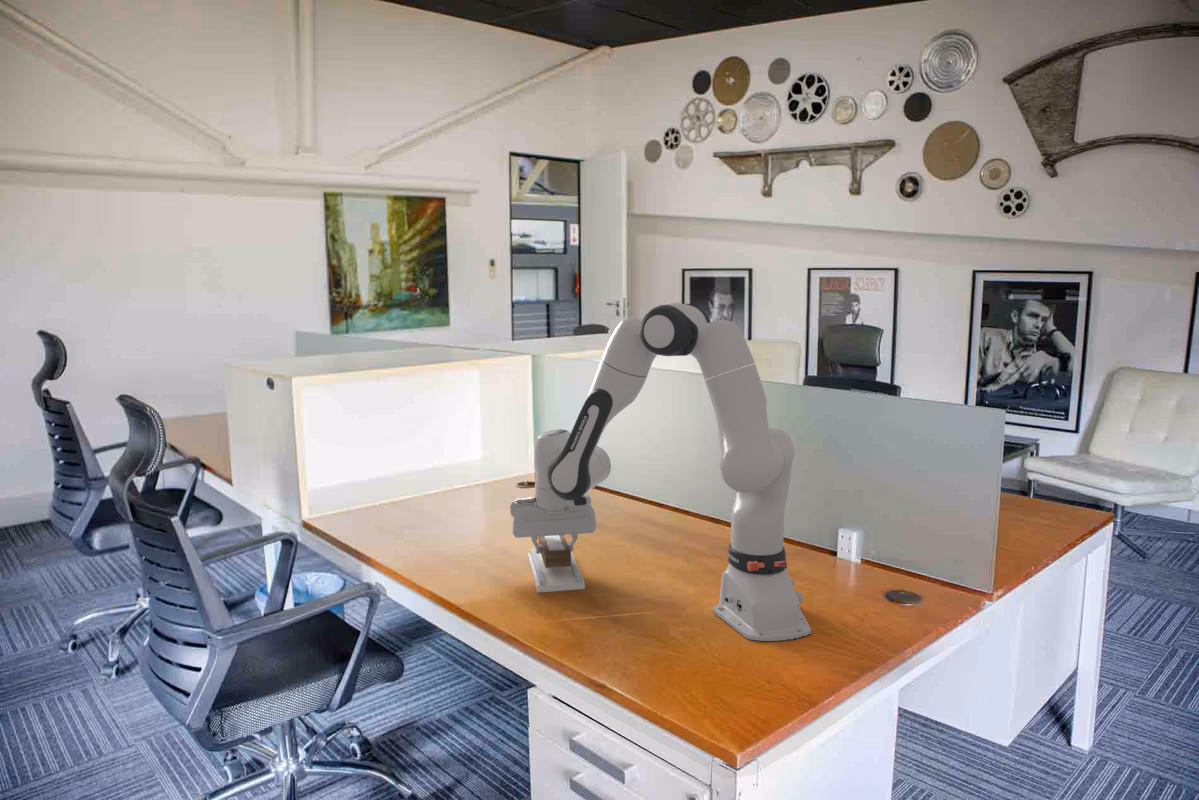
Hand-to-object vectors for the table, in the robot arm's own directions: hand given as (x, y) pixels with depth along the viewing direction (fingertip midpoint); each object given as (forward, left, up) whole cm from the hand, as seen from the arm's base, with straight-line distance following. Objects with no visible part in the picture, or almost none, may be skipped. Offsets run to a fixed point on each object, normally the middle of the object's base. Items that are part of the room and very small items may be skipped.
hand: (554, 551), depth 198 cm
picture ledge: (0, 0, -5) cm, 5 cm away
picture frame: (0, 0, -1) cm, 1 cm away
